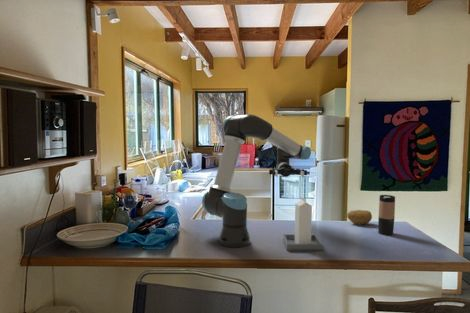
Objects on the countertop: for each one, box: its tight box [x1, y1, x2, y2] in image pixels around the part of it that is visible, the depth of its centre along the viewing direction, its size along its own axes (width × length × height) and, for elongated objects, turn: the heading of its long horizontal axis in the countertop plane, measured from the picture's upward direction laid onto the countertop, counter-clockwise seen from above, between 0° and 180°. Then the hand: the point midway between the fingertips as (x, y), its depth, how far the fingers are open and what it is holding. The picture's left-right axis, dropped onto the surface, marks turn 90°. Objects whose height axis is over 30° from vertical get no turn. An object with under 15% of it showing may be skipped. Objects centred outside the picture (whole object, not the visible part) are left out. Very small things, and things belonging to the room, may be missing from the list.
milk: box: [294, 196, 313, 244], centre depth 151 cm, size 6×6×22 cm
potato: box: [346, 209, 373, 225], centre depth 188 cm, size 10×14×8 cm
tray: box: [282, 233, 324, 252], centre depth 152 cm, size 16×14×3 cm
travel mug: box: [377, 194, 396, 236], centre depth 170 cm, size 8×8×20 cm
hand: (290, 174), depth 165 cm, fingers open, 13 cm apart
